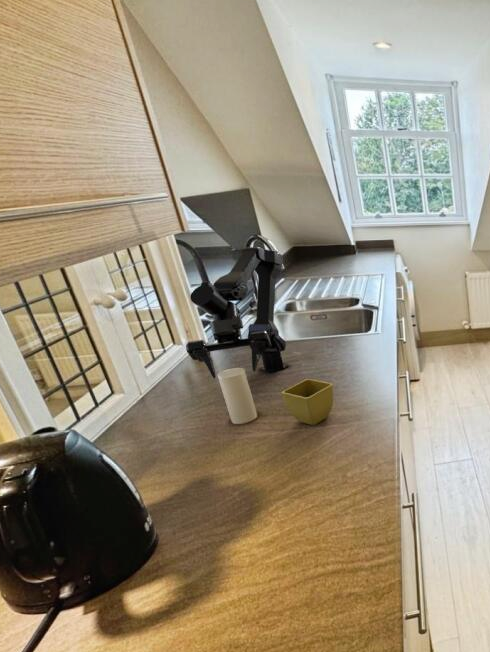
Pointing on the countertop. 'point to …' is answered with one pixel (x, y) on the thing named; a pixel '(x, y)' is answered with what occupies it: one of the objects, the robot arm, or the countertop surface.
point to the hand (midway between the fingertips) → (234, 374)
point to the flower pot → (309, 400)
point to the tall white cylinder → (237, 395)
